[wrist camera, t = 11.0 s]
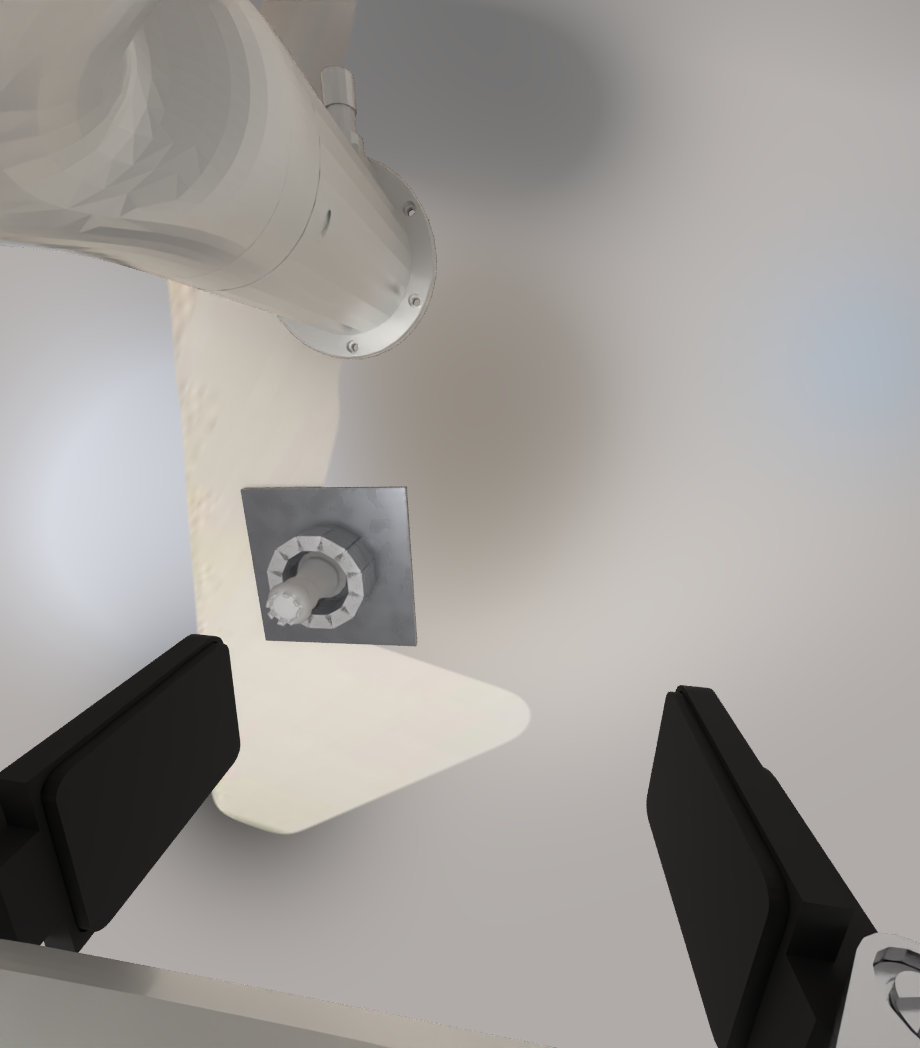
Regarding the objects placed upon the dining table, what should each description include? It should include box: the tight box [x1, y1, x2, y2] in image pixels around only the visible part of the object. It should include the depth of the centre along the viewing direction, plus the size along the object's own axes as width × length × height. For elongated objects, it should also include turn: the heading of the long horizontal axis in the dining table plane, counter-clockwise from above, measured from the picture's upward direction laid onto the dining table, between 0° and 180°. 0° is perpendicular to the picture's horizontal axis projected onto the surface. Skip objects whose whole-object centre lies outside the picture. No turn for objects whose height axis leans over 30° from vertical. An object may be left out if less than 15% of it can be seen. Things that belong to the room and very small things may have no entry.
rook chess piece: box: [266, 551, 348, 626], centre depth 35 cm, size 4×4×8 cm
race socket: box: [241, 487, 417, 646], centre depth 37 cm, size 14×14×4 cm
